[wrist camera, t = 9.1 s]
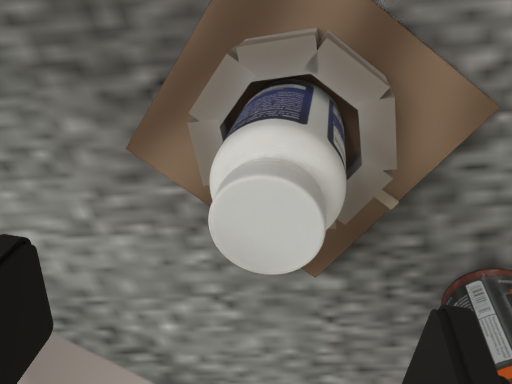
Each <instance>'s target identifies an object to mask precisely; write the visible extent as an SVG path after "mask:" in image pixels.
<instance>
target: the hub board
mask: <svg viewBox="0 0 512 384" xmlns="http://www.w3.org/2000/svg"><path fill="white" fill-rule="evenodd" d="M283 79H298V80H303V81H307V82H310V83H313V84H315V85H317V86H319V87H320V88H322V89H323V90H324V91H326V92H327V93H328V94H329V95H330V96H331V97H332V99H333V100H334V101H335V103H336V104H337V106H338V108H339V110H340V112H341V115H342V119H343V124H344V136H345V158H346V194H345V200H344V203H343V206H342V209H341V211H340V213H339V215H338V217H337V218H336V220H335V221H334V223H333V224H332V225H331V226H330V227H329V228H328V229H327V230H326V233H325V238H324V242H323V245H322V247H321V248H320V250H319V252H318V253H317V255H316V256H315V257H314V258H313V259H312V260H311V261H310V262H309V263H308V264H306V265H305V266H303V267H301V268H302V269H303V270H305V271H306V272H308V273H309V274H310V275H312V276H313V277H315V278H316V277H317V276H318V275H319V274H320V273H321V272H322V271H323V270H324V269H325V268H326V267H327V266H329V265H330V264H331V263H332V262H333V261H334V260H335V259H336V258H337V257H338V256H339V255H340V254H342V253H343V252H344V251H345V250H346V249H347V248H348V247H349V246H350V245H351V244H352V243H353V242H355V241H356V240H357V239H358V238H359V237H360V236H361V235H362V234H363V233H364V232H365V231H366V230H368V229H369V228H370V227H371V226H372V225H373V224H374V223H375V222H376V221H377V220H378V219H379V218H381V217H382V216H383V215H384V214H385V213H386V212H387V211H388V210H389V209H391V210H392V209H393V208H394V207H395V206H396V205H397V204H398V203H399V200H400V199H401V198H402V197H403V196H404V195H405V194H407V193H408V192H409V191H410V190H411V189H412V188H413V187H414V186H415V185H416V184H417V183H418V182H420V181H421V180H422V179H423V178H424V177H425V176H426V175H427V174H428V173H429V172H430V171H431V170H433V169H434V168H435V167H436V166H437V165H438V164H439V163H440V162H441V161H442V160H443V159H444V158H446V157H447V156H448V155H449V154H450V153H451V152H452V151H453V150H454V149H455V148H456V147H457V146H459V145H460V144H461V143H462V142H463V141H464V140H465V139H466V138H467V137H468V136H469V135H470V134H472V133H473V132H474V131H475V130H476V129H477V128H478V127H479V126H480V125H481V124H482V123H483V122H485V121H486V120H487V119H488V118H489V117H490V116H491V115H492V114H493V113H494V112H495V111H496V110H498V109H499V108H500V107H499V106H498V105H497V104H496V103H495V102H494V101H493V100H492V99H491V98H489V97H488V96H487V95H486V94H485V93H483V92H482V91H481V90H480V89H478V88H477V87H476V86H475V85H474V84H472V83H471V82H470V81H469V80H468V79H466V78H465V77H464V76H463V75H462V74H460V73H459V72H458V71H457V70H456V69H454V68H453V67H452V66H451V65H450V64H448V63H447V62H446V61H445V60H443V59H442V58H441V57H440V56H439V55H437V54H436V53H435V52H434V51H433V50H431V49H430V48H429V47H428V46H427V45H425V44H424V43H423V42H422V41H421V40H419V39H418V38H417V37H416V36H415V35H413V34H412V33H411V32H410V31H408V30H407V29H406V28H405V27H404V26H402V25H401V24H400V23H399V22H398V21H396V20H395V19H394V18H393V17H392V16H390V15H389V14H388V13H387V12H386V11H384V10H383V9H382V8H381V7H380V6H378V5H377V4H376V3H375V2H373V1H372V0H211V2H210V4H209V6H208V7H207V9H206V11H205V13H204V14H203V16H202V18H201V19H200V21H199V23H198V25H197V26H196V28H195V30H194V32H193V33H192V35H191V37H190V38H189V40H188V42H187V44H186V45H185V47H184V49H183V50H182V52H181V54H180V56H179V57H178V59H177V61H176V63H175V64H174V66H173V68H172V69H171V71H170V73H169V75H168V76H167V78H166V80H165V82H164V83H163V85H162V87H161V88H160V90H159V92H158V94H157V95H156V97H155V99H154V100H153V102H152V104H151V106H150V107H149V109H148V111H147V113H146V114H145V116H144V118H143V119H142V121H141V123H140V125H139V126H138V128H137V130H136V132H135V133H134V135H133V137H132V138H131V140H130V142H129V144H128V145H127V147H126V149H127V150H128V151H130V152H131V153H133V154H134V155H136V156H137V157H138V158H140V159H141V160H143V161H144V162H146V163H147V164H149V165H150V166H152V167H153V168H155V169H156V170H158V171H159V172H161V173H162V174H163V175H165V176H166V177H168V178H169V179H171V180H172V181H174V182H175V183H177V184H178V185H180V186H181V187H183V188H184V189H186V190H187V191H188V192H190V193H191V194H193V195H194V196H196V197H197V198H199V199H200V200H202V201H203V202H205V203H206V204H208V205H209V206H211V204H212V201H213V200H212V197H211V192H210V171H211V167H212V164H213V161H214V158H215V156H216V154H217V152H218V150H219V148H220V146H221V145H222V143H223V141H224V140H225V138H226V136H227V135H228V133H229V132H230V130H231V128H232V127H233V125H234V123H235V122H236V120H237V119H238V117H239V115H240V113H241V112H242V110H243V108H244V107H245V105H246V103H247V102H248V101H249V99H250V98H251V97H252V96H253V95H254V94H255V93H256V92H257V91H258V90H259V89H261V88H262V87H264V86H265V85H267V84H269V83H272V82H275V81H278V80H283Z"/></svg>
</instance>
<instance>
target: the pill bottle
mask: <svg viewBox="0 0 512 384" xmlns="http://www.w3.org/2000/svg"><path fill="white" fill-rule="evenodd" d="M210 192H211V197H212V200H213V201H212V204H211V207H210V210H209V217H208V224H209V231H210V234H211V237H212V239H213V241H214V243H215V245H216V246H217V248H218V249H219V250H220V252H221V253H222V254H223V255H224V256H225V257H226V258H227V259H229V260H230V261H231V262H233V263H234V264H236V265H237V266H239V267H241V268H243V269H246V270H248V271H252V272H255V273H260V274H268V275H276V274H284V273H289V272H292V271H295V270H297V269H299V268H301V267H303V266H305V265H306V264H308V263H309V262H310V261H311V260H312V259H313V258H314V257H315V256H316V255H317V253H318V252H319V250H320V248H321V247H322V245H323V242H324V238H325V233H326V230H327V229H328V228H329V227H330V226H331V225H332V224H333V223H334V221H335V220H336V218H337V217H338V215H339V213H340V211H341V209H342V206H343V203H344V200H345V194H346V158H345V136H344V124H343V119H342V115H341V112H340V110H339V108H338V106H337V104H336V103H335V101H334V100H333V99H332V97H331V96H330V95H329V94H328V93H327V92H326V91H324V90H323V89H322V88H320V87H319V86H317V85H315V84H313V83H310V82H307V81H303V80H298V79H283V80H278V81H275V82H272V83H269V84H267V85H265V86H264V87H262V88H261V89H259V90H258V91H257V92H256V93H255V94H254V95H253V96H252V97H251V98H250V99H249V101H248V102H247V103H246V105H245V107H244V108H243V110H242V112H241V113H240V115H239V117H238V119H237V120H236V122H235V123H234V125H233V127H232V128H231V130H230V132H229V133H228V135H227V136H226V138H225V140H224V141H223V143H222V145H221V146H220V148H219V150H218V152H217V154H216V156H215V158H214V161H213V164H212V167H211V171H210Z"/></svg>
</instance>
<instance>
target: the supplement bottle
mask: <svg viewBox="0 0 512 384" xmlns="http://www.w3.org/2000/svg"><path fill="white" fill-rule="evenodd" d="M443 304H445V305H452V306H458V307H464V308H470V309H471V310H472V311H473V313H474V314H475V317H476V319H477V322H478V324H479V327H480V329H481V332H482V334H483V337H484V340H485V342H486V345H487V347H488V350H489V352H490V355H491V357H492V360H493V362H494V365H495V367H496V370H497V372H498V375H500V376H503V377H505V378H506V379H507V380H508V381H509V382H510V384H512V271H510V270H505V269H497V268H495V269H492V268H488V269H483V270H478V271H475V272H472V273H469V274H466V275H464V276H463V277H460V278H459V279H457V280H456V281H454V283H452V284H451V286H450V287H449V288H448V289H447V291H446V292H445V294H444V296H443V298H442V302H441V306H442V305H443Z"/></svg>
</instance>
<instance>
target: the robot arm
mask: <svg viewBox="0 0 512 384" xmlns="http://www.w3.org/2000/svg"><path fill="white" fill-rule="evenodd" d="M52 330H53V319H52V315H51V311H50V306H49V302H48V297H47V293H46V289H45V284H44V280H43V275H42V271H41V267H40V262H39V258H38V253H37V249H36V247H35V246H34V245H32V244H31V242H30V240H29V239H28V238H25V237H19V236H12V235H6V234H2V235H0V384H17V382H18V381H19V380H20V378H21V377H22V375H23V374H24V372H25V371H26V370H27V368H28V367H29V366H30V364H31V363H32V361H33V360H34V358H35V357H36V355H37V354H38V353H39V351H40V350H41V349H42V347H43V346H44V344H45V343H46V341H47V340H48V339H49V337H50V335H51V333H52ZM402 384H510V382H509V381H508V380H507V379H506V378H505V377H503V376H500V375H498V372H497V370H496V367H495V365H494V362H493V360H492V357H491V355H490V352H489V350H488V347H487V345H486V342H485V340H484V337H483V334H482V332H481V329H480V327H479V324H478V322H477V319H476V317H475V314H474V313H473V311H472V310H471V309H470V308H464V307H458V306H452V305H445V304H443V305H442V306H441V307H440V308H439V310H435V309H433V310H432V311H431V313H430V315H429V317H428V320H427V322H426V325H425V327H424V330H423V332H422V335H421V337H420V340H419V342H418V345H417V347H416V350H415V352H414V355H413V357H412V360H411V362H410V365H409V367H408V370H407V372H406V375H405V377H404V380H403V382H402Z"/></svg>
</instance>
